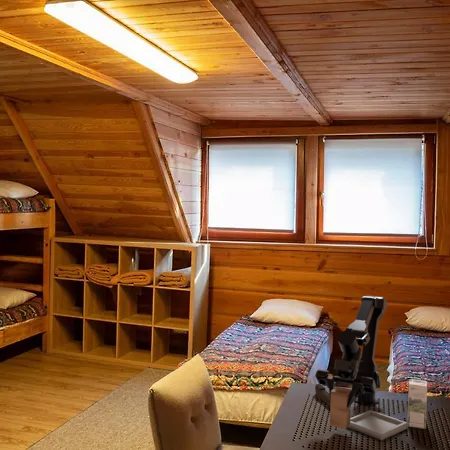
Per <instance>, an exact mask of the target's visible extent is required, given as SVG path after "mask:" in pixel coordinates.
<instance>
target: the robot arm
mask: <svg viewBox="0 0 450 450" xmlns="http://www.w3.org/2000/svg"><path fill="white" fill-rule="evenodd" d="M360 301H361V303H360V306H359V309H358V310H357V311H358V312H357V314H356V316H355V320H354V321H353V322H352V323H350V324H349V325H348V326H347V327H346V328H345V329H344V330H343V331H341V332H339V334H338V335H337V342H338V344H339V348H340V350H341V352H342V357H341V358H340V359H335V361H334V367H333V370H335V374H336V375H334V374H333V373H332V374H331V373H330V371H329V370H326V369H320V368H319V369H317V370H316V371H315V375H314V377H315V379H316V381H317V384H320V385H322V386H326V387H327V388H328V393H329V394H330V404H331V391H332V390H333V389H334V388H335V387H337V386H336V383H338V384H345V385H350V386H351V393H350V396H349V399H348V403H347V408H349V407H350V406H351V407H352V405H353V403H354V402H355V403H358V404H362V405H365V406H367V407H370V406H373V405H375V404H377V403H379V402H380V401H379V400H378V399H376V392H377V391H376V390H377V389H381V386H382V385H381V383H382V382H381V377H380V375H379V372H378V369H379V368H378V366H377V363H376V361H375V356H376V350H377V349H376V348H377V339H378V334H379V333H378V330H379V325H380V324H379V323H380V321H381V320H382V318H383V317H384V316H385V313H386V310H387V307H388V300H386V299H385V297H384V296H376V295H375V296H374V295H364V296H362V297H361V300H360ZM361 347H362V348H361Z"/></svg>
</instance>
